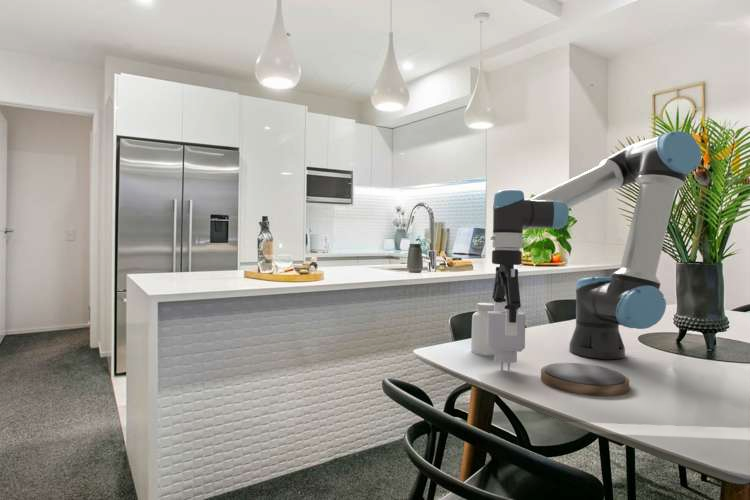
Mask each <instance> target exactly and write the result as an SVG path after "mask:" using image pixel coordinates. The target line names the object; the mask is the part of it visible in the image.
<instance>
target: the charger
mask: <svg viewBox="0 0 750 500" xmlns="http://www.w3.org/2000/svg"><path fill="white" fill-rule="evenodd" d="M505 322H506V310H504V311H488V319H487V345H488V347H489V348H490V349H491V350H494V355H493V357H494V358H493V359H494V360H493V362H498V363H500V369H501V370H504V363H507V370H511V369H510V367H511V363H512V364H513V363H517V362H518V361H517V360H518V359H517V357H518V352H522V351H523V350H525V348H526V313H525V312H524V311H518V318H517V336H508V335H505Z"/></svg>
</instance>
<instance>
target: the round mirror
mask: <svg viewBox="0 0 750 500" xmlns="http://www.w3.org/2000/svg"><path fill="white" fill-rule="evenodd" d="M540 380H541V382H542V383H544V384H546V386H549V387H552V388H553V389H557V390H559V391H563V392H567V393H568V392H569V393H572V394H577V395H585V396H595V397H615V396H621V395H625V394H627V393H628V392H630V379H629V377H627V376H626V375H625V374H623V373H621V372H619V371H617V370H614V369H612V368H607V367H603V366H599V365H593V364H586V363H580V362H579V363H578V362H577V363H576V362H557V363H550V364H547V365H545V366H543V367H541V369H540Z"/></svg>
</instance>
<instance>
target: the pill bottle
mask: <svg viewBox="0 0 750 500" xmlns="http://www.w3.org/2000/svg"><path fill="white" fill-rule="evenodd" d="M488 311H494V303H490V302H478V303H476V311H475V312H474V313H473V314H472V317H471V340H470V341H471V343H470V344H471V345H470V346H471V347H470V349H471V353H473V354H476V355H480V356H494V350H491V349H490V348H489V347H488V345H487V319H488Z"/></svg>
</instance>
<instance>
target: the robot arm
mask: <svg viewBox="0 0 750 500" xmlns="http://www.w3.org/2000/svg"><path fill="white" fill-rule="evenodd" d="M701 162H702V149H701V146H700V144H699V143H698V142H697V139H696V138H695V137H694V136H693V135H691V134H690V133H688V132H685V131H682V130H675V131H669V132H664V133H661V134H659V135H657V136H654V137H651V138H647V139H644V140H641V141H637V142H634V143H632V144H631V145H628V146H627V147H624V148H623V149H622V150H620V151H618V152H616V153H614V154H612V155H611V156H609V157H607V158H605V159H603V160H601V161H600V162H599V164H598V166H596V167H594V168H592V169H590V170H588V171H586V172H583V173H581V174H580V175H578V176H575V177H573V178H571V179H569V180H567V181H565V182H563V183H561V184H558V185H557V186H555V187H552V188H550V189H548V190H546V191H544V192H542V193H539V194H537V195H535V196H533V197H531V198H525V194H524V192H523V190H519V189H500V190H498V191H496V192H495V193H494V198H493V206H492V211H493V213H492V215H493V217H492V236H490V240H491V241H492V248H493V249H494V250H492V251H491V264H493V265H499V266H496V267H495V277H494V284H493V290H492V291H493V292H492V299H493V304H494V311H506V322H505V335H508V336H517V318H518V312H519V311H518V310H519V309H520V308H521V307H522V304H521V292H520V284H519V283H520V282H519V270H518V268H515V266H520V265H522V261H523V258H522V257H523V256H522V255H523V252H522V251H521V249H522V248H523V241H524V240H523V238H524V236H523V235H524V234H523V233H524V232H523V231H526V230H538V229H550V230H555V229H562V228H564V227H565V226H566V224H567V223H568V220H569V218H570V217H569V209H570V208H572V207H575V206H577V205H579V204H581V203H582V202H583V203H584V202H585V201H587V200H589V199H591V198H593V197H595V196H598V195H600V194H602V193H604V192H606V191H608V190H610V189H612V190H616V189H617V190H618V189H620V188H622V187H624V186H627V185H631V184H634V183H636V184H637V185H638V187H639V189H638V192H637V197H636V201H635V205H634V210H633V213H632V218H631V222H630V226H629V230H628V235H627V239H626V242H625V246H624V250H623V255H622V259H621V263H620V267H619V269H618V270H615V272H612V275H611V276H593V277H583V278H582V277H581V278H579V279H578V280H577V281H576V289H575V293H576V294H575V295H576V296H575V300H576V301H575V302H576V303H575V305H576V306H575V315H576V316H575V328H574V330H573V333H572V336H571V338H570V341H569V349H568V350H569V352H571V353H572V354H575V355H578V356H582V357H584V358H585V357H586V358H593V359H600V360H601V359H602V360H617V359H624V358H625V357H626V348H625V345H624V342H623V337H622V336H621V333H620V332H621V331H620V328H619V327H620V326H622V327H625V328H629V329H636V330H646V329H649V328H651V327H653V326H655V325H657V324H658V323H659V322H660V321H661V320H662V318H663V317H664V315H665V312H666V309H667V301H666V299H665V298H664V296H665V295H664V294H663V292H662V290H661V289H660V288H661V282H660V280H659V279H658V278H657V270H658V267H659V262H660V259H661V255H662V251H663V246H664V243H665V238H666V233H667V231H668V224H669V221H670V216H671V213H672V208H673V205H674V204H673V203H674V200H675V195H676V191H678V190H679V189H681V188H682V187H684V185H685V182H686V179H687V175H688V174H690V173H692V172H693V171H695V170H696V169H697V168H699V166H700V164H701Z"/></svg>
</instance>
